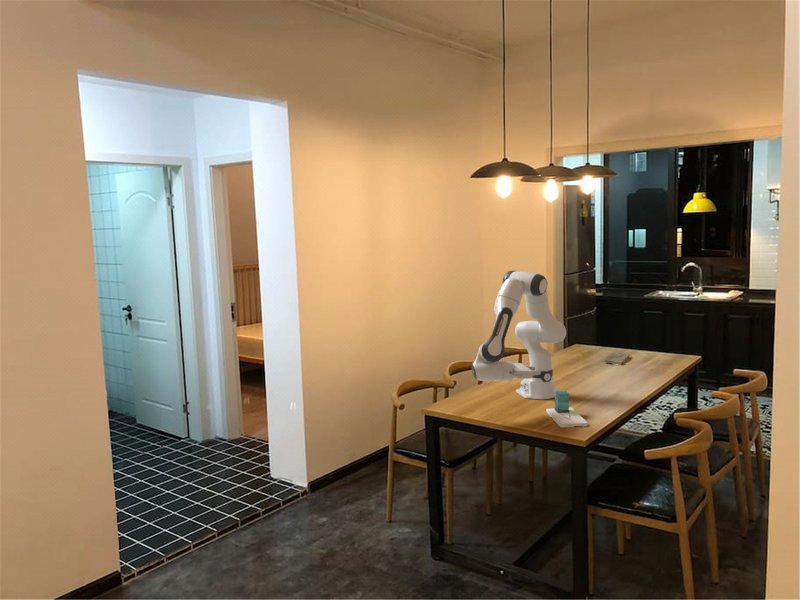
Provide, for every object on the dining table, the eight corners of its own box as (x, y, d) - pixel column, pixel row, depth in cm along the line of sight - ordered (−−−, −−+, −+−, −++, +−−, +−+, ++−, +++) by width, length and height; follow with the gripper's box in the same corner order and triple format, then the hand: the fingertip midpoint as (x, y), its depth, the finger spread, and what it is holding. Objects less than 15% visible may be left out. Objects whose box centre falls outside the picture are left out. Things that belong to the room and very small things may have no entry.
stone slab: (631, 352, 416) (622, 359, 390) (631, 358, 416) (622, 366, 390) (611, 350, 422) (602, 357, 396) (611, 356, 422) (602, 364, 396)
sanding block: (554, 409, 298) (554, 390, 297) (566, 409, 298) (565, 390, 297) (557, 412, 292) (557, 393, 291) (569, 412, 292) (569, 393, 291)
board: (546, 411, 300) (546, 408, 300) (571, 410, 300) (571, 407, 300) (560, 427, 276) (560, 424, 276) (587, 426, 276) (587, 422, 276)
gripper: (512, 368, 281) (543, 367, 281) (502, 360, 301) (531, 359, 302) (512, 382, 281) (543, 381, 282) (502, 373, 302) (531, 373, 302)
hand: (537, 370), depth 292 cm, fingers open, 8 cm apart
